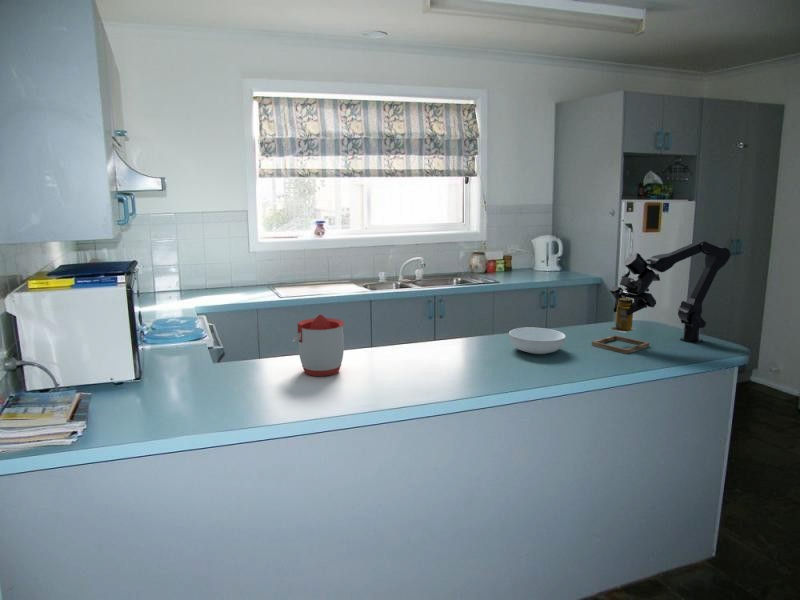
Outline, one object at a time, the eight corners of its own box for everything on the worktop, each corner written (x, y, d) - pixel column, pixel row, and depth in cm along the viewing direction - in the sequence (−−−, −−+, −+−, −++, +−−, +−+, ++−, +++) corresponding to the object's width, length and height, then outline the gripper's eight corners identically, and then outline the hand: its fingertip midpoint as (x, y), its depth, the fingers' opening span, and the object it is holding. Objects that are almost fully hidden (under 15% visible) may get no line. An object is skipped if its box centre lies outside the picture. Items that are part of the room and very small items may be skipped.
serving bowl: (570, 359, 222) (572, 341, 220) (513, 359, 222) (513, 340, 221) (557, 343, 242) (558, 326, 241) (504, 343, 242) (505, 326, 241)
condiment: (636, 329, 237) (638, 299, 235) (625, 333, 232) (628, 302, 229) (618, 326, 243) (620, 296, 240) (607, 329, 237) (609, 299, 234)
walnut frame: (614, 338, 249) (615, 335, 249) (649, 346, 238) (649, 342, 237) (591, 345, 239) (591, 341, 239) (626, 353, 228) (626, 350, 228)
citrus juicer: (289, 368, 211) (287, 311, 207) (338, 362, 217) (337, 307, 213) (298, 382, 197) (296, 321, 193) (350, 376, 203) (349, 317, 199)
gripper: (614, 266, 242) (592, 296, 240) (653, 272, 226) (630, 304, 223) (627, 283, 248) (605, 313, 245) (666, 291, 231) (643, 323, 229)
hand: (620, 313), depth 235 cm, fingers closed on condiment, 6 cm apart
